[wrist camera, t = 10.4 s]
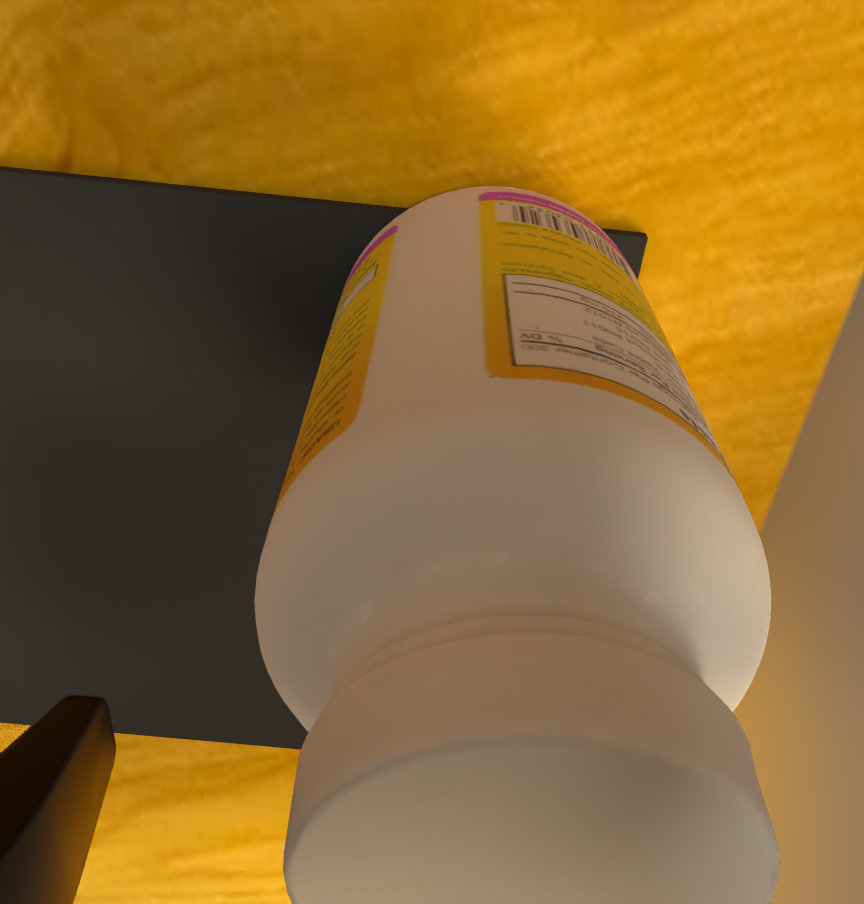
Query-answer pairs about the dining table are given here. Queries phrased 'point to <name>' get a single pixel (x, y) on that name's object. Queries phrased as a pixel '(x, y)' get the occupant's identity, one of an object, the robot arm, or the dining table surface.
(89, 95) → the dining table surface
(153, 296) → the mat
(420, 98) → the dining table surface
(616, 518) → the supplement bottle
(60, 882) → the robot arm
